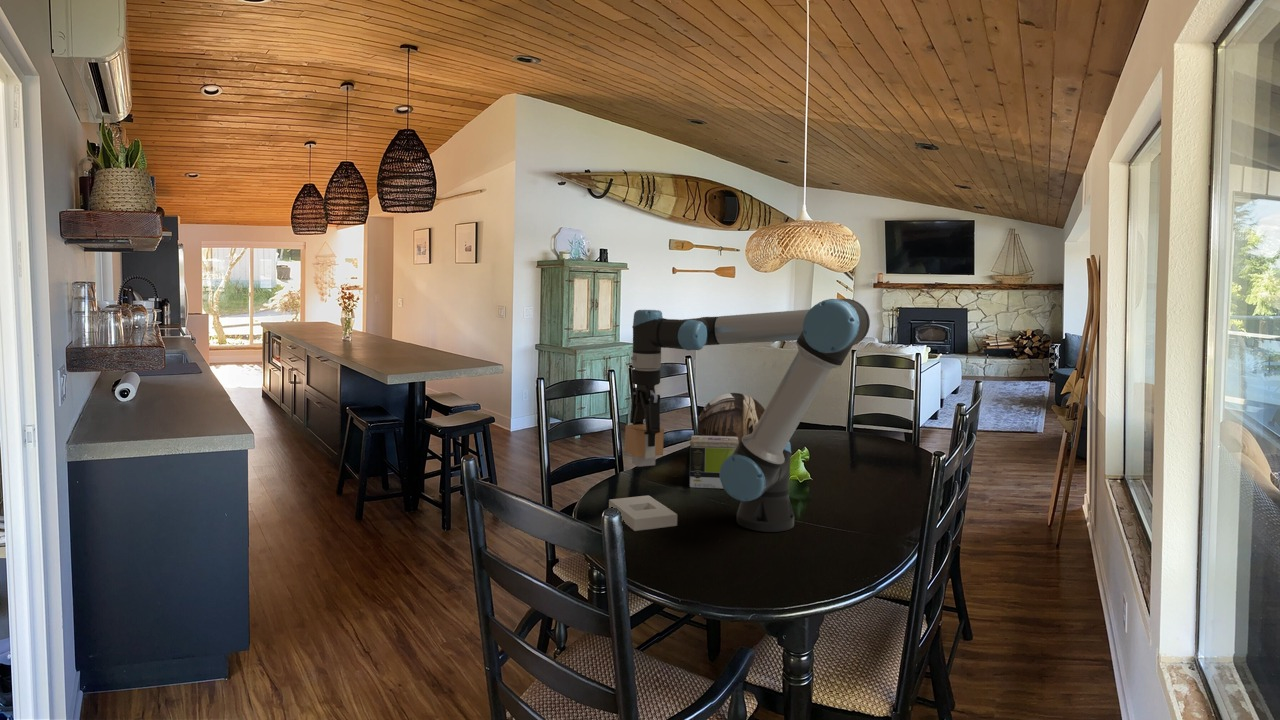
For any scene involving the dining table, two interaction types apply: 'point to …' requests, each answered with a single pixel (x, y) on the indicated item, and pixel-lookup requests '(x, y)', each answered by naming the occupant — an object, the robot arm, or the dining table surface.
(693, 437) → the tea box
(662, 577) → the dining table surface
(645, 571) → the dining table surface
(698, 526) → the dining table surface
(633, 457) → the plug
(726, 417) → the sphere
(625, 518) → the socket plate
